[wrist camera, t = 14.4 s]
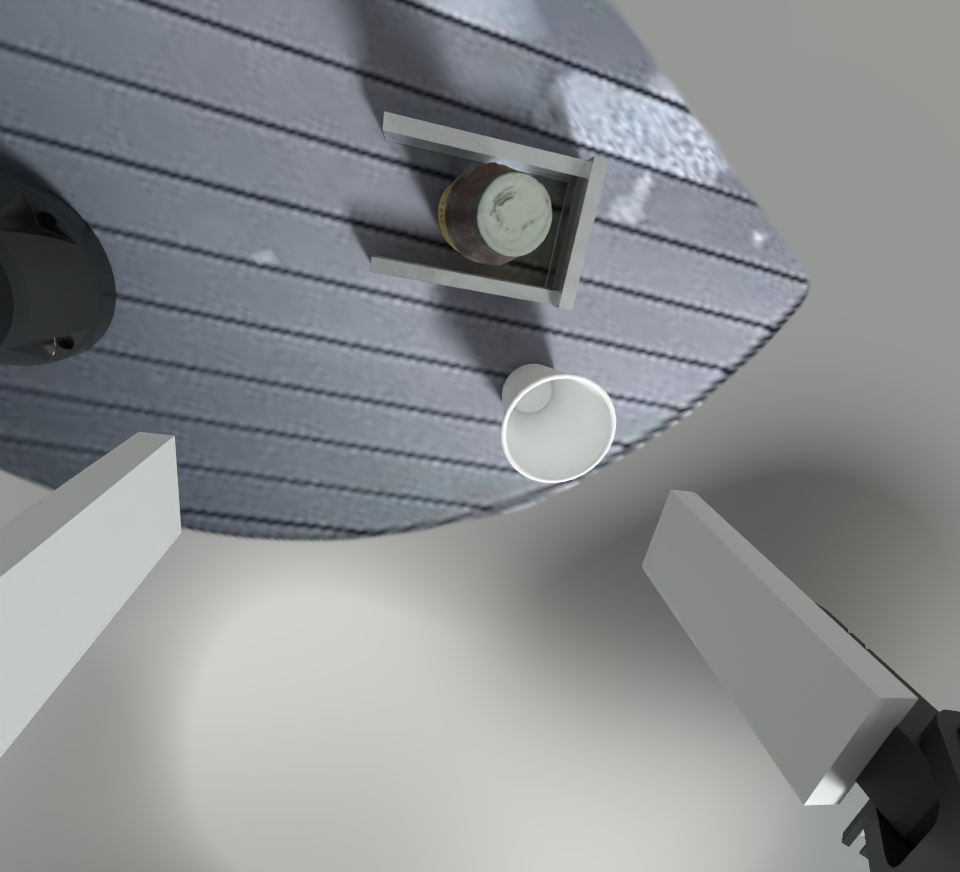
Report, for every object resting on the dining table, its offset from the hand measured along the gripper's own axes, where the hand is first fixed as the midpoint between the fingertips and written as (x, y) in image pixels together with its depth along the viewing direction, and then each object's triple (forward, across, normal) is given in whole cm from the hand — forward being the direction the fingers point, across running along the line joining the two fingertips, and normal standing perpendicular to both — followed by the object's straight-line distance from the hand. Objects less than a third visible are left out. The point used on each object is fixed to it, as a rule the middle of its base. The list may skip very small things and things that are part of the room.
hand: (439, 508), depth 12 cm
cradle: (+35, +3, +9) cm, 36 cm away
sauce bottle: (+35, +3, +9) cm, 36 cm away
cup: (+35, +12, -6) cm, 37 cm away
